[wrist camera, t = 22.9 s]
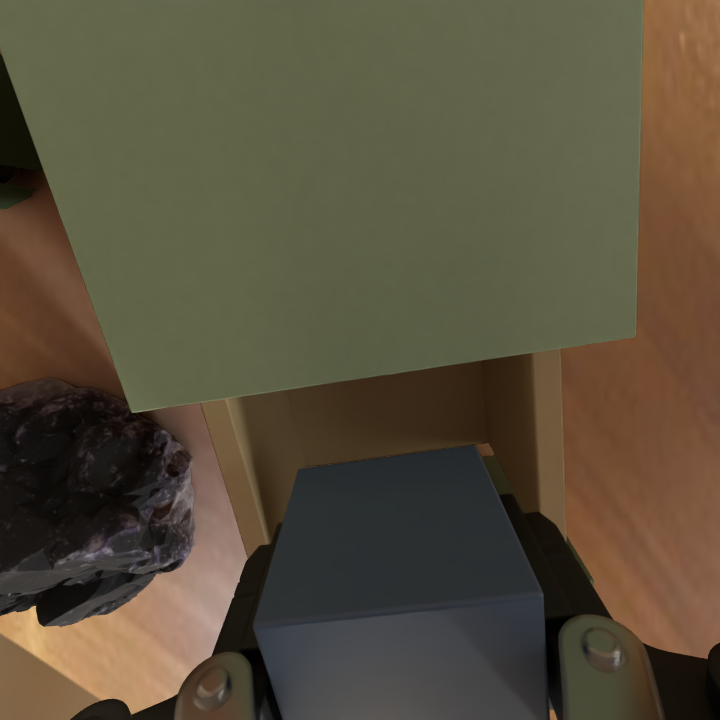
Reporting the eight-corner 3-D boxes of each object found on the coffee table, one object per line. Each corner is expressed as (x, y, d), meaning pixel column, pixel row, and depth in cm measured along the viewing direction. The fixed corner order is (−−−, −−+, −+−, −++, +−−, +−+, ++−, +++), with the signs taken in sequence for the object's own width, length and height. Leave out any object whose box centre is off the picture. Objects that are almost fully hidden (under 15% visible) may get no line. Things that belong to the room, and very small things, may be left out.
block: (475, 443, 11) (545, 593, 6) (489, 586, 12) (555, 789, 8) (296, 467, 11) (249, 626, 7) (330, 604, 12) (308, 808, 8)
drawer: (522, 546, 23) (595, 705, 15) (308, 571, 24) (279, 733, 16) (497, 179, 17) (591, 151, 10) (220, 230, 18) (116, 239, 11)
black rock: (240, 556, 25) (178, 738, 16) (15, 608, 25) (-187, 820, 16) (167, 334, 22) (33, 389, 13) (-88, 394, 23) (-413, 493, 13)
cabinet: (512, 281, 19) (636, 337, 10) (239, 325, 20) (130, 413, 11) (485, -142, 15) (662, -702, 6) (138, -59, 16) (-175, -427, 7)
